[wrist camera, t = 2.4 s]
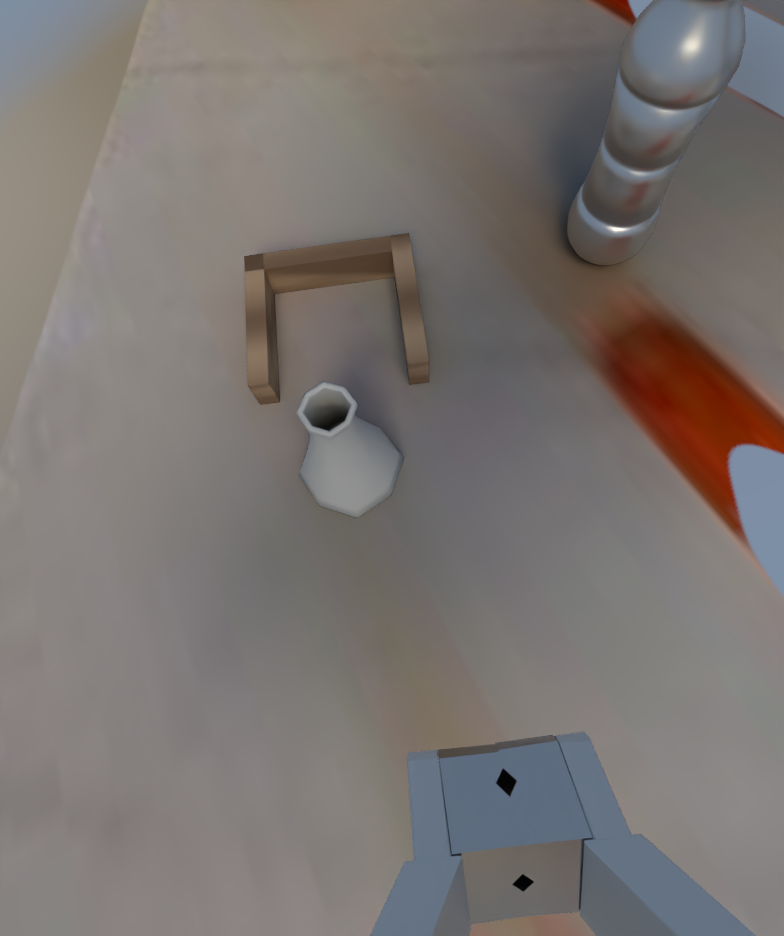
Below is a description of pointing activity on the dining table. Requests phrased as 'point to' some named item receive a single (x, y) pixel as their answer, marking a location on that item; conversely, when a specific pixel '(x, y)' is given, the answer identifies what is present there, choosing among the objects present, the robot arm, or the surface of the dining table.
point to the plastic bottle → (653, 120)
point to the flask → (345, 453)
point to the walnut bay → (321, 271)
